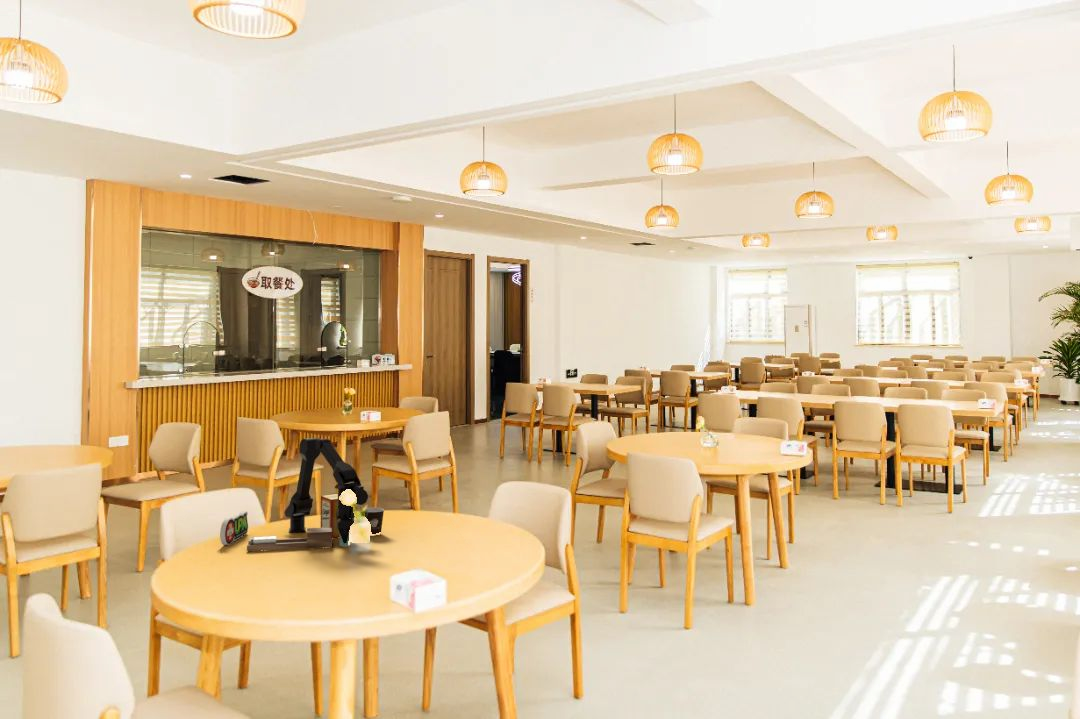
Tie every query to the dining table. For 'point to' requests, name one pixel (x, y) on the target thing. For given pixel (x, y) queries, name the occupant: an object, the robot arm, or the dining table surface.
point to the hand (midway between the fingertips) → (345, 541)
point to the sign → (233, 528)
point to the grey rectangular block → (263, 540)
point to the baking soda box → (330, 513)
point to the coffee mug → (375, 519)
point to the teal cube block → (342, 541)
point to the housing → (299, 541)
